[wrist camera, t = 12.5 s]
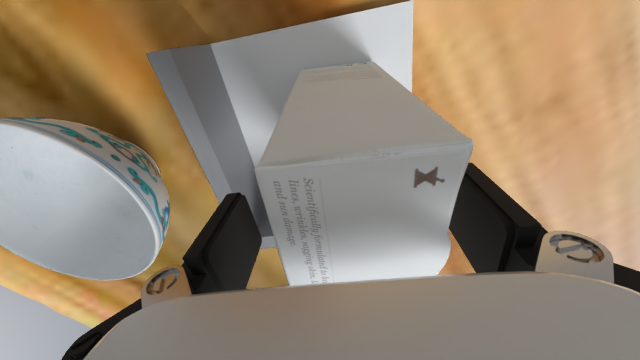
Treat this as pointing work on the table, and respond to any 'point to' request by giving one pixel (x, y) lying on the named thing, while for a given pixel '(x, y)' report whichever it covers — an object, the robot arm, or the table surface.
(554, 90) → the table surface
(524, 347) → the robot arm
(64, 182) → the chinaware
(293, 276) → the skincare box
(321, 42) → the corner jig
